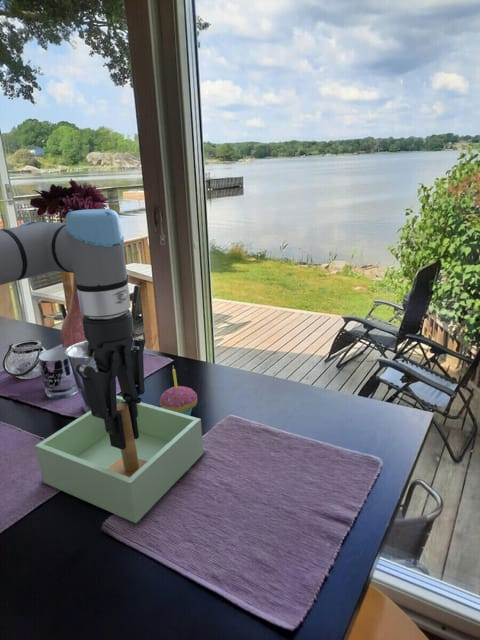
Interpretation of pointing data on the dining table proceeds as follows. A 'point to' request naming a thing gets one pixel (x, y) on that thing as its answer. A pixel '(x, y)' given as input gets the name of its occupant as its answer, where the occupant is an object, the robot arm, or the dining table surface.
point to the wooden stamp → (127, 446)
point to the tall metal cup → (76, 356)
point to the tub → (98, 455)
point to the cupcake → (178, 398)
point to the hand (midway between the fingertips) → (125, 441)
